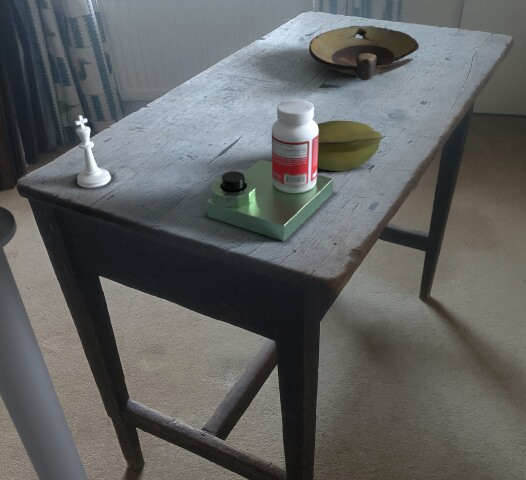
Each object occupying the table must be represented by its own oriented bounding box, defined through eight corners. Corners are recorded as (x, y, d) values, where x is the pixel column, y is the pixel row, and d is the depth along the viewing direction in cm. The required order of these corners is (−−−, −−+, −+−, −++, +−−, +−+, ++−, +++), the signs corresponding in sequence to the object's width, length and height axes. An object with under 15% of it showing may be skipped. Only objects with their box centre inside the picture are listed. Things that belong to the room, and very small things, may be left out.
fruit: (354, 187, 85) (358, 144, 81) (283, 168, 90) (283, 127, 86) (385, 156, 93) (390, 116, 89) (318, 140, 98) (319, 101, 94)
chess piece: (117, 179, 88) (104, 115, 82) (88, 191, 86) (72, 126, 79) (99, 169, 91) (86, 106, 85) (71, 179, 89) (55, 115, 82)
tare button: (236, 195, 77) (236, 183, 76) (218, 190, 78) (217, 178, 77) (249, 186, 79) (248, 174, 78) (230, 180, 80) (229, 169, 79)
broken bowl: (427, 57, 129) (433, 19, 124) (386, 105, 108) (391, 63, 104) (332, 44, 137) (334, 9, 132) (277, 87, 116) (277, 47, 111)
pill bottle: (297, 169, 85) (298, 93, 78) (325, 185, 81) (330, 107, 74) (263, 182, 82) (261, 104, 75) (290, 199, 78) (291, 120, 71)
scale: (283, 241, 75) (284, 214, 72) (204, 215, 80) (202, 189, 78) (332, 193, 84) (334, 168, 82) (258, 173, 89) (258, 148, 87)
